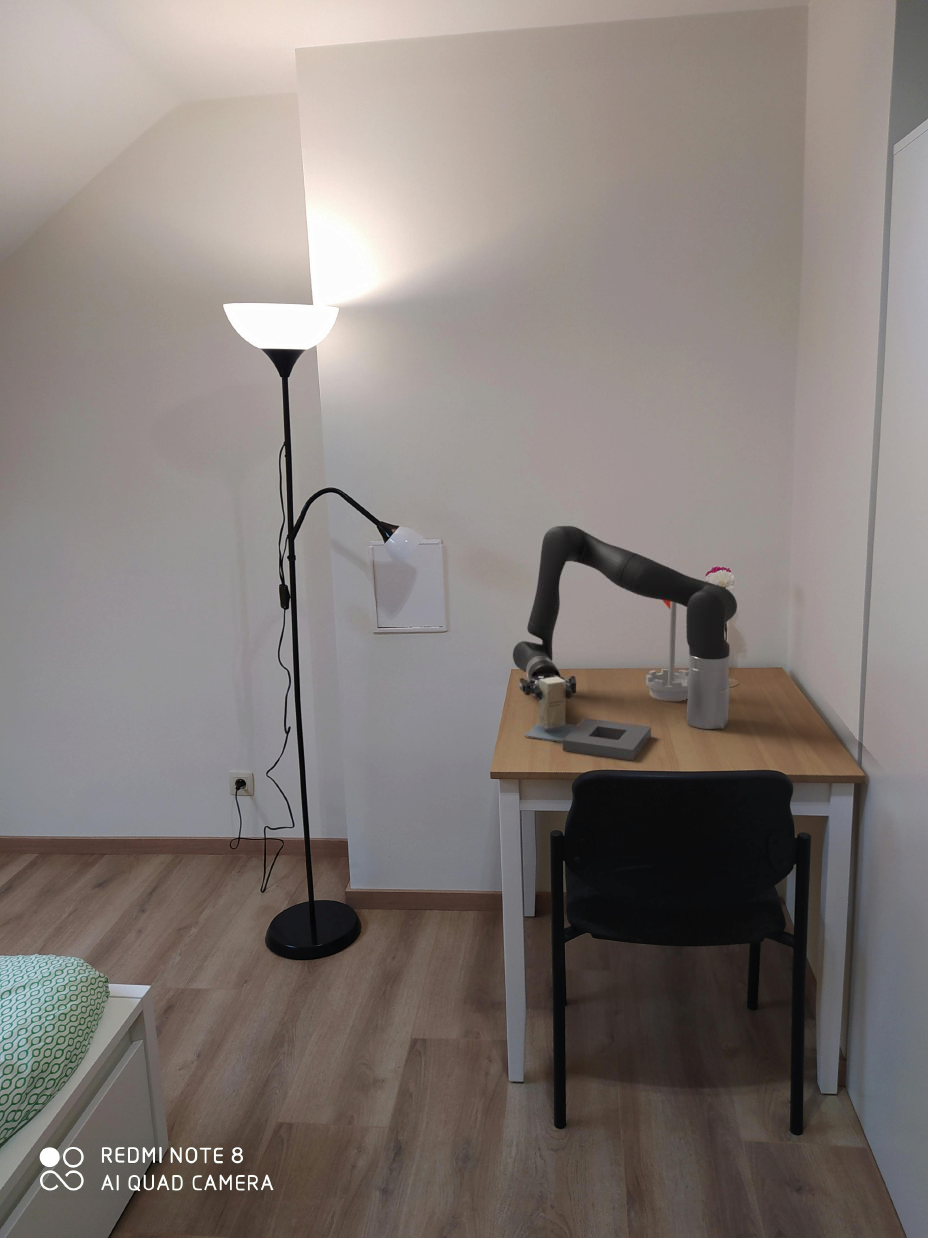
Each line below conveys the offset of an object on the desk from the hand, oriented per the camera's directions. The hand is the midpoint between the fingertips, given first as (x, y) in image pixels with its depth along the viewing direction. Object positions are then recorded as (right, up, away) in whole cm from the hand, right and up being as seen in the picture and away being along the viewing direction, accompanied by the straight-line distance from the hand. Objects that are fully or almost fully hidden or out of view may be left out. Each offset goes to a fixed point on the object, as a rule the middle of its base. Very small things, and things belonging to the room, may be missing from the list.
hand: (554, 695), depth 212 cm
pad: (0, -9, +5) cm, 10 cm away
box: (0, -7, +4) cm, 9 cm away
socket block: (+12, -11, -3) cm, 16 cm away
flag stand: (+34, -3, +31) cm, 46 cm away
